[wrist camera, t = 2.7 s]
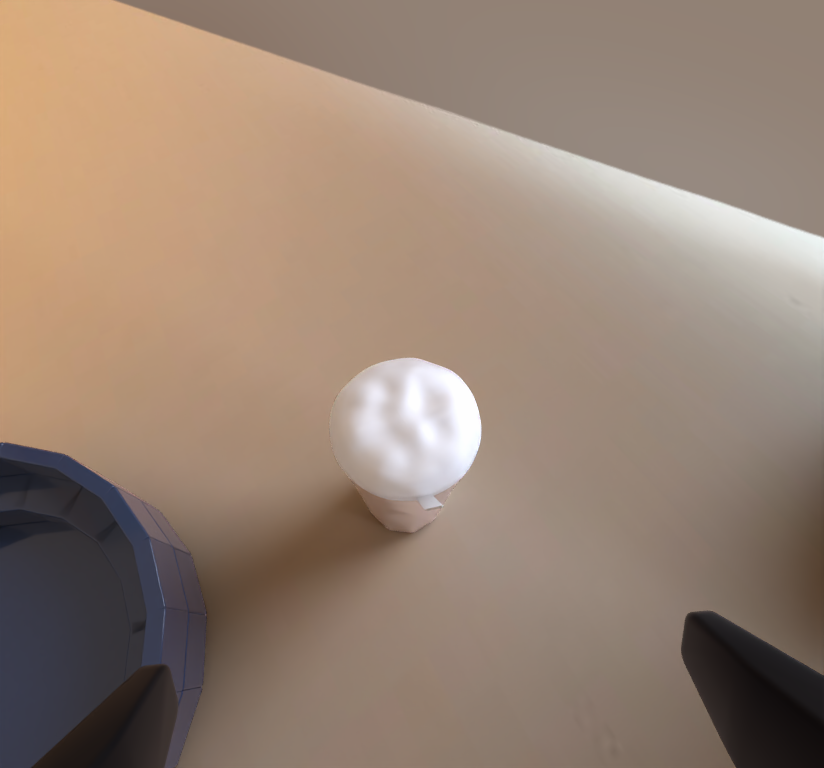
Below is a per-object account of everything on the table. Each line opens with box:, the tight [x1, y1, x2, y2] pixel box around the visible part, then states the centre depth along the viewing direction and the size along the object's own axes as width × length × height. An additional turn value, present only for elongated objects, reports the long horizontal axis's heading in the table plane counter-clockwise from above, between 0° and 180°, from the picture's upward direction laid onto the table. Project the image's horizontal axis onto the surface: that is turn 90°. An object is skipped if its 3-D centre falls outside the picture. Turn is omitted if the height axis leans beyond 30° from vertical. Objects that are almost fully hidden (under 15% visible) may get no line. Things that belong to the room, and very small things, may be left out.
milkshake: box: [329, 358, 481, 533], centre depth 18 cm, size 5×5×10 cm
